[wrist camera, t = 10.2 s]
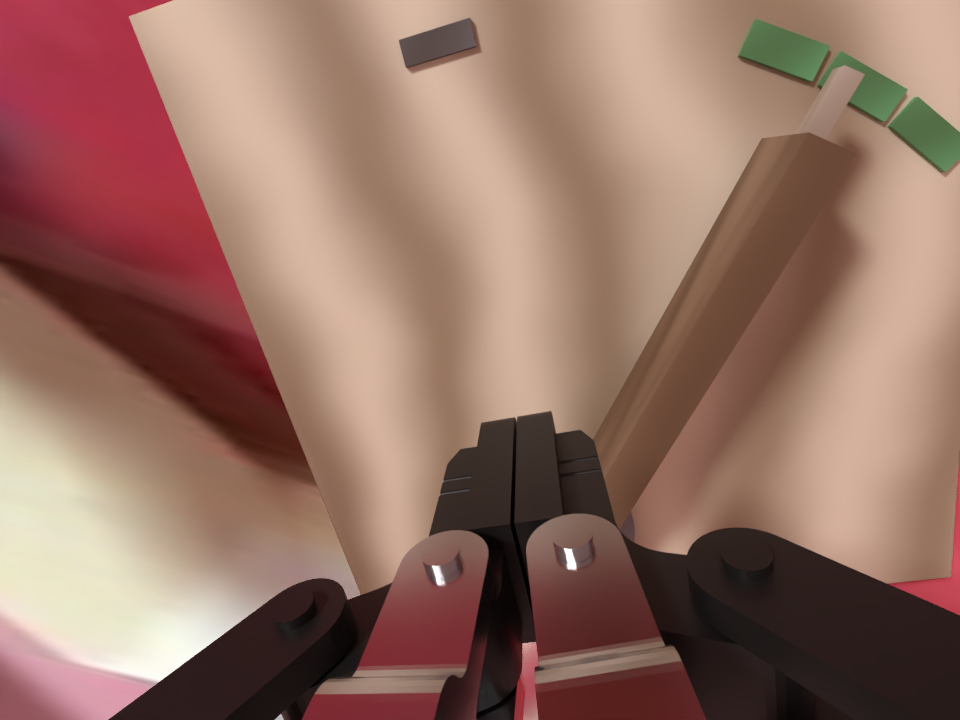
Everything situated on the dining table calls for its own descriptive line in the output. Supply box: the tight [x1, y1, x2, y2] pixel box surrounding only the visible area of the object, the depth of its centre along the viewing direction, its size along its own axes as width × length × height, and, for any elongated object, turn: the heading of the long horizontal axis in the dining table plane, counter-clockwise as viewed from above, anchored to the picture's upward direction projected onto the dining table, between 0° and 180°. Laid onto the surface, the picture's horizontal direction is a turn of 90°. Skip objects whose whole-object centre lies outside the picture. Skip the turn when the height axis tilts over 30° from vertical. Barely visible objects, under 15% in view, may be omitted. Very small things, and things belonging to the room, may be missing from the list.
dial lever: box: [593, 65, 865, 529], centre depth 18 cm, size 4×21×3 cm, turn 158°
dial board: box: [129, 0, 960, 595], centre depth 20 cm, size 26×28×2 cm
